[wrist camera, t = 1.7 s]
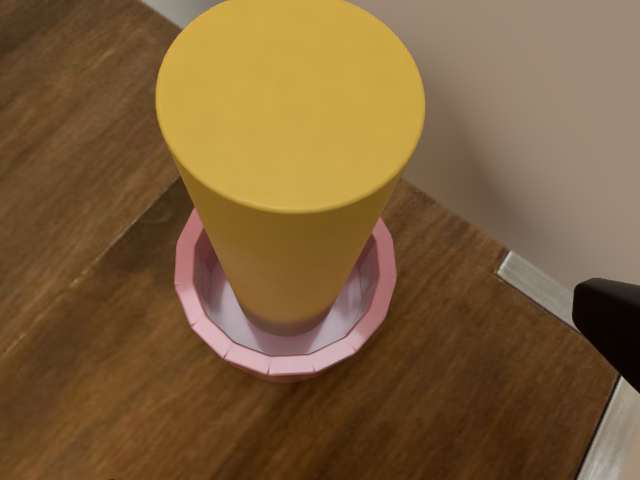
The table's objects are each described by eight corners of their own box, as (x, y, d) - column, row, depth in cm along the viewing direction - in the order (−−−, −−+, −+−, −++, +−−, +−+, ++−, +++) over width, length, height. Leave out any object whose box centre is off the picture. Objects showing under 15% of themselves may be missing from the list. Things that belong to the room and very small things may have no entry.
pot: (389, 339, 20) (435, 313, 14) (243, 413, 19) (224, 418, 13) (321, 208, 22) (336, 136, 16) (184, 265, 21) (144, 208, 15)
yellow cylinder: (353, 310, 18) (476, 150, 6) (260, 354, 17) (214, 259, 6) (310, 225, 19) (351, -38, 8) (221, 262, 18) (117, 27, 7)
